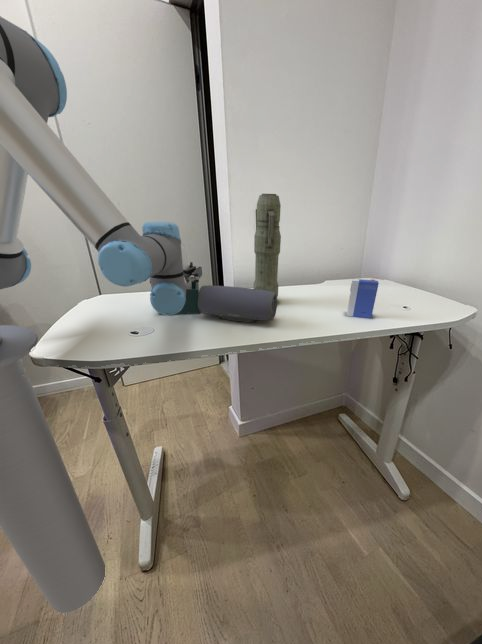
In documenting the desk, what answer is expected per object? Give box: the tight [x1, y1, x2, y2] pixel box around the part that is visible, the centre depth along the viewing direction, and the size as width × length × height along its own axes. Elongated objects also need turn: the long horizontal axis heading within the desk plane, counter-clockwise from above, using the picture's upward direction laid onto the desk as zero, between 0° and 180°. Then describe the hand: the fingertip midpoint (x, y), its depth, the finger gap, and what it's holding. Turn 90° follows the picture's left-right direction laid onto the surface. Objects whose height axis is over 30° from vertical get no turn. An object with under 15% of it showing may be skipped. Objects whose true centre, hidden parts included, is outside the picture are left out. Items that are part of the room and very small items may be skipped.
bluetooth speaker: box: [198, 284, 278, 323], centre depth 88 cm, size 23×9×10 cm, turn 76°
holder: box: [158, 280, 201, 316], centre depth 97 cm, size 13×13×8 cm
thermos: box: [253, 193, 282, 297], centre depth 99 cm, size 9×12×35 cm
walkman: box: [346, 278, 380, 319], centre depth 94 cm, size 8×3×12 cm, turn 76°
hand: (177, 266), depth 97 cm, fingers closed on milk, 8 cm apart
